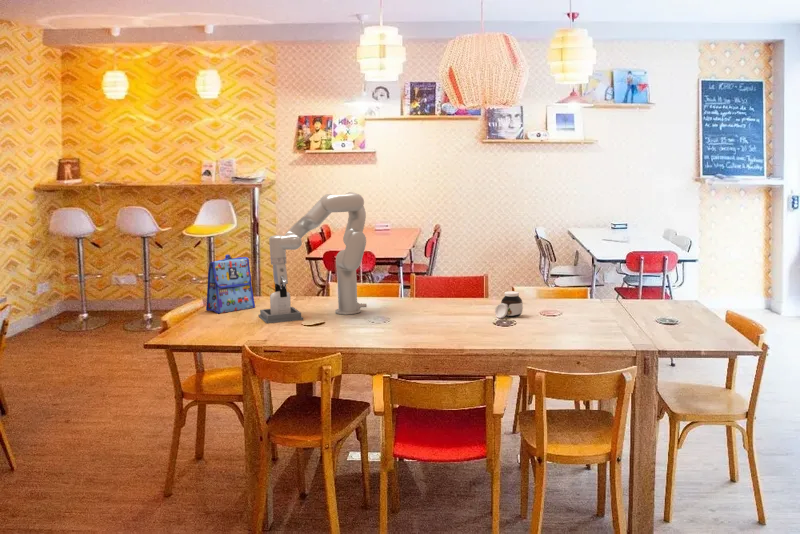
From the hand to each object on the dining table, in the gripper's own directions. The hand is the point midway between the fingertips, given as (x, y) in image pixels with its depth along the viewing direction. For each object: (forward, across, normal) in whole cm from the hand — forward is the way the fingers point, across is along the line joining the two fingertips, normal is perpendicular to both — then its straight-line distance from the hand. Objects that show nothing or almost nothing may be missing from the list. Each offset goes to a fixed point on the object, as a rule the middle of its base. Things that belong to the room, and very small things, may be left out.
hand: (281, 295), depth 418 cm
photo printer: (+10, 0, +1) cm, 11 cm away
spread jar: (+15, -48, -99) cm, 111 cm away
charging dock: (+11, 0, +1) cm, 11 cm away
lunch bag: (+11, +34, +19) cm, 41 cm away
